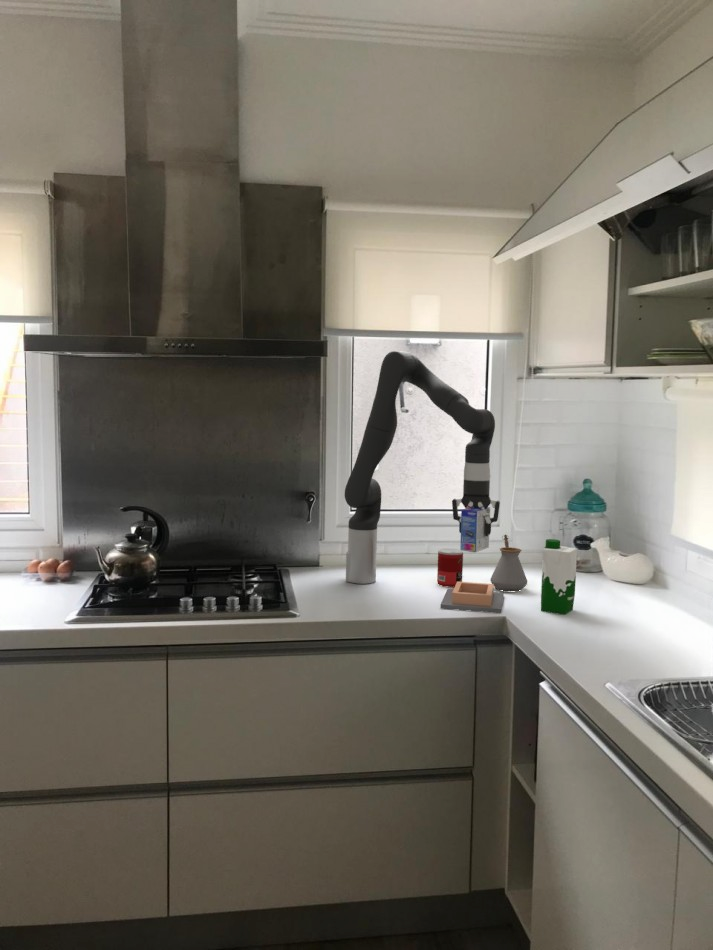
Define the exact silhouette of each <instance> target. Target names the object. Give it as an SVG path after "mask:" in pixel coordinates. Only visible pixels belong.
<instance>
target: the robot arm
mask: <svg viewBox="0 0 713 950" xmlns="http://www.w3.org/2000/svg"><path fill="white" fill-rule="evenodd" d="M378 375H379V377H378V381H377V387H376V392H375V395H374V400H373V402H372V406H371V410H370V413H369V416H368V419H367V422H366V426H365V429H364V433H363V438H362V441H361V444H360V447H359V449H358V453H357V456H356V460H355V462H354V465H353V468H352V470H351V472H350V475H349V478H348V479H347V483H346V485H345V487H344V488H345V489H344V499H345V502H346V504H347V505H348V506H349V507H350V508H352V509H355V512H354V514H353V515H352V516H351V517H349V520H348V527H347V528H348V533H347V535H348V536H347V537H348V538H347V551H346V554H345V556H346V557H345V558H346V559H345V582H346V583H352V584H359V585H360V584H361V585H363V584H365V585H367V584H373V583H375V582H376V580H377V579H376V578H377V550H378V549H377V546H378V545H377V543H378V542H377V541H378V523H379V521H380V519H381V518H380V517H381V510H382V509H381V508H382V507H381V506H382V489H381V486H380V483H379V482H378V481H377V480H376V479H374V478H373V476H374V473H375V470H376V468H377V467H378V466H379V464H380V463H381V461H383V458H384V457H385V456H386V454H388V452H389V450H390V448H391V446H392V444H393V441H394V437H395V434H396V432H397V428H398V414H397V406H396V404H397V403H396V400H397V395H398V392H399V390H400V389H399V388H400V386H401V383H408V384H411V385H413V386H415V387H417V388H419V390H421V391H422V392H424V394H426V396H427V397H428V398H429V399H430V401H431V402H432V404H434V405H435V406H436V407H437V408H438V409H440V410H441V411H442V412H444V413H445V414H447V415H448V416H449V417H451V418H452V420H454V422H455V423H456V424H457V425H458V426H459V428H461V429H462V430H463V431H465V432H467V433H469V434H472V436H471V439H470V442H467V444H466V445H465V452H464V453H465V454H464V467H463V468H464V469H463V485H462V487H463V489H462V490H463V491H462V498H459V499H457V498H453V499H452V501H451V503H452V504H451V505H452V506H451V507H452V517H453V520H454V521H458V523H459V526H458V527H459V528H458V529H459V531H458V532H459V534H461V515H459V510H458V509H459V507H460V504H462V505H463V507H464V509H471V508H472V505H473V507H474V509H475V508H480V509H483V516H484V517H485V519H486V521H487V523H486V536H488V534H489V536H490V534H491V533H492V524H493V523H497V522H498V520H499V512H500V506H501V505H500V504H501V502H500V500H491V498H490V490H491V488H490V484H491V483H490V482H491V468H490V465H491V464H490V458H491V452H490V451H491V450H490V449H491V446H492V445H491V444H492V442H493V439H494V438H493V437H494V433H495V429H496V420H495V416H494V414H493V413H492V412H491V411H490V410H489V409H485V408H484V409H483V408H481V409H479V408H475V407H473V406H472V405H470V402H469V399H468V398H467V397H465V396H464V395H463V394H461V393H460V392H458V391H457V390H456V389H455V388H453V387H451V385H449V384H447V383H446V382H444V381H443V380H442V379H440V378H439V377H438V376H437V375H436V374H434V372H432V370H431V369H429V368H428V367H427V366H426V365H425V364H424V363H423V362H422V361H421V360H420V359H419V358H418V357H417V356H416V355H415V354H414V353H411V352H409V351H401V350H392V351H389V352H388V353H387V354H386V355H385V356H384V357H383V360H382V362H381V365H380V370H379V374H378ZM469 500H470V501H471V502H470V501H469ZM490 505H491V507H492V508H493V509H494V510H493V517H491V515H490V516H489V514H488V512H486V508H487V507H489V506H490ZM484 512H485V513H484Z"/></svg>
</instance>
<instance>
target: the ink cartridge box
mask: <svg viewBox="0 0 713 950" xmlns="http://www.w3.org/2000/svg"><path fill="white" fill-rule="evenodd" d="M469 501H470V500H469ZM470 502H471V501H470ZM486 512H488V514H489V516H490V517H491V507H489V506H488V507H487V508H486ZM484 513H485V512H484ZM460 514H461V515H460V517H461V533H460V549H459V550H462V551H463V552H469V553H478V552H480V551H483V550H486V549H489V547H490V535H489V534H488V536H486V523H487V521H486V519H485V517H484V516H483V509H480V508H475V509H474V507H473V505H472V508H471V509H466V508H463V509H461V512H460Z"/></svg>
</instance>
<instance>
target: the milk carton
mask: <svg viewBox="0 0 713 950" xmlns="http://www.w3.org/2000/svg"><path fill="white" fill-rule="evenodd" d="M541 552H542V553H541V554H542V557H541V558H542V564H541V565H542V566H541V568H542V569H541V570H542V572H541V586H540V587H541V589H540V592H541V593H540V611H541V612H545V611H546V612H547V613H551V612H552V614H557V613H558V614H559V615H564V616H565V615H567V614H568V613H570V612H571V611H573V609H574V602H575V596H576V579H577V576H576V575H577V561H578V560H577V557H578V548H577V547H569V546H562V545H561V540H559V539H553V538H551V539H548V538H547V539H545V546H544V547H543V548H542V550H541ZM558 614H557V615H558Z"/></svg>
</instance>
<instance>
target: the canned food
mask: <svg viewBox="0 0 713 950" xmlns="http://www.w3.org/2000/svg"><path fill="white" fill-rule="evenodd" d="M437 551H438V552H437V571H436V572H437V574H436V575H437V576H436V577H437V580H436V581H437V582H436V583H437V584H439V585H438V586H440V585H442V587H444V586H448V587H447V588H455V585H456V583H457V581H458V582H463V571H464V570H463V568H464V567H463V566H464V564H463V563H464V551H462V550H460V549H457V548H441V549H440V548H439V549H438V550H437Z"/></svg>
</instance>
